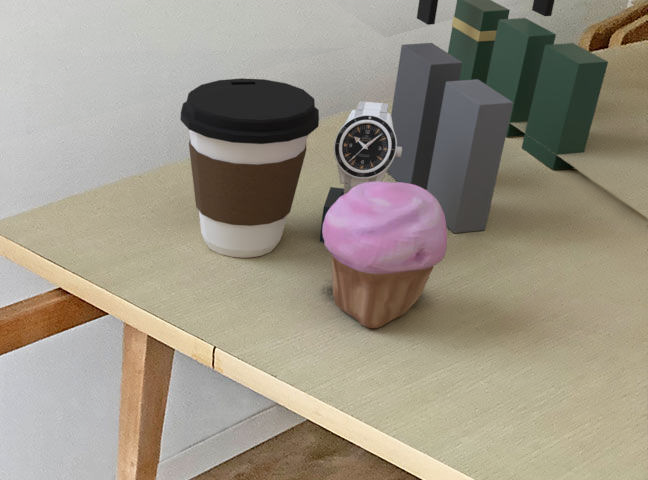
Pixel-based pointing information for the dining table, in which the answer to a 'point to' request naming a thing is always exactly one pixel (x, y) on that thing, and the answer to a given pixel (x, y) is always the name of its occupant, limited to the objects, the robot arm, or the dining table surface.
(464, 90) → the grey books
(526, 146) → the green books
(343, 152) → the watch
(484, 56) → the green tan-banded upright block
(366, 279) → the cupcake
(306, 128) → the coffee cup
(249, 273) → the dining table surface
